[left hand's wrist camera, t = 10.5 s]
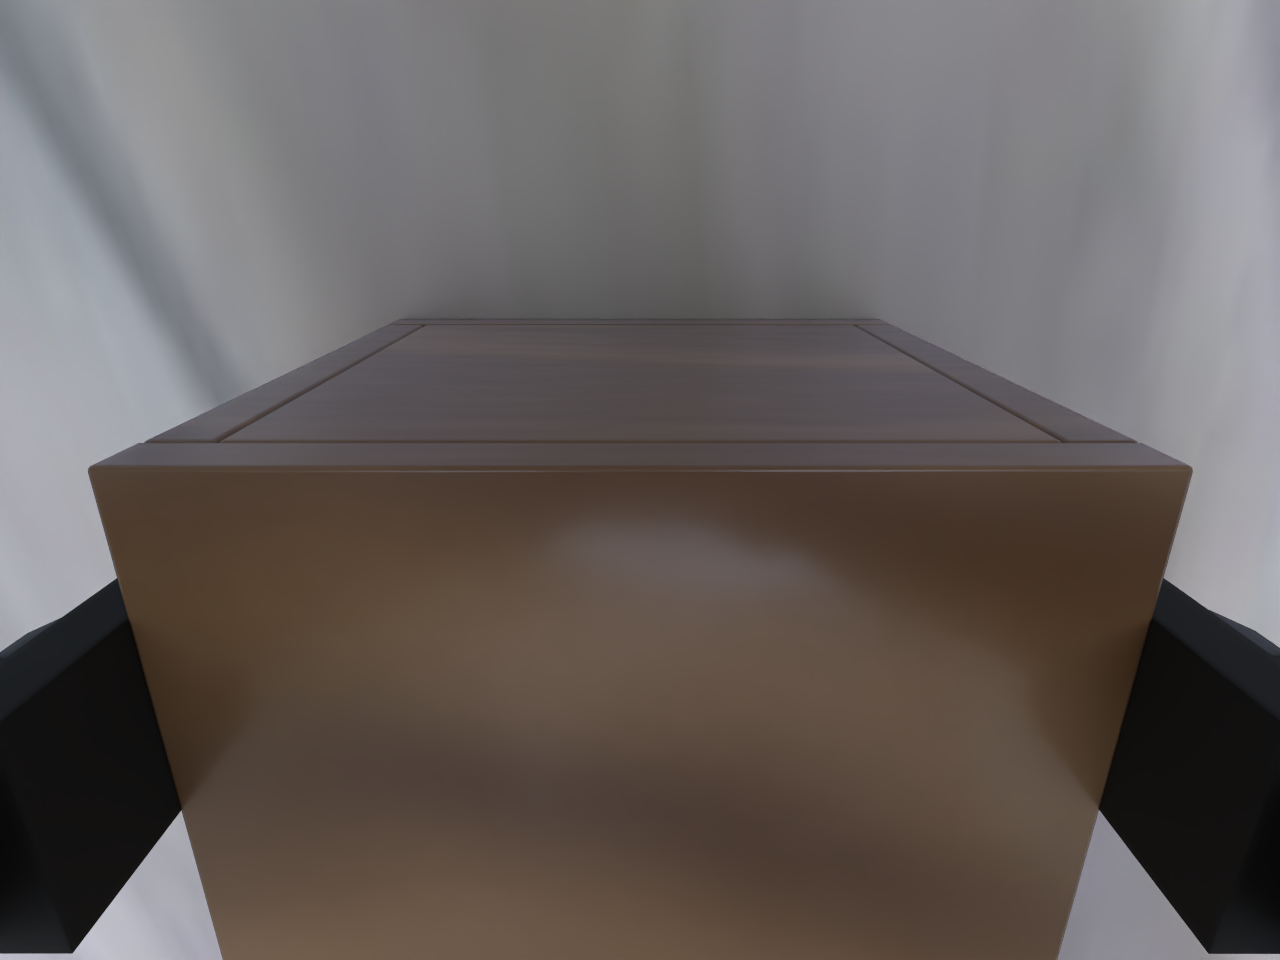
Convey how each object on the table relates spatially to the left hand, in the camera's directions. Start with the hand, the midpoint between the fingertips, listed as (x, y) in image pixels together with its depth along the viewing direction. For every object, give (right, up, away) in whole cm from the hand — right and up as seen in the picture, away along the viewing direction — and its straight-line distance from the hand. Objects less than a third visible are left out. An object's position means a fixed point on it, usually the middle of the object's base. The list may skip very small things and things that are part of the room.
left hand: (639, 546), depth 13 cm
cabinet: (0, -5, +8) cm, 9 cm away
